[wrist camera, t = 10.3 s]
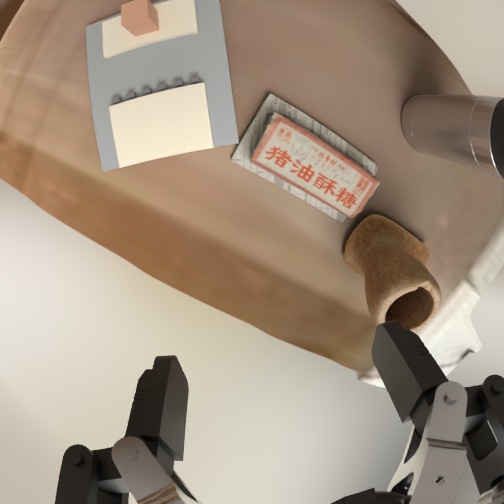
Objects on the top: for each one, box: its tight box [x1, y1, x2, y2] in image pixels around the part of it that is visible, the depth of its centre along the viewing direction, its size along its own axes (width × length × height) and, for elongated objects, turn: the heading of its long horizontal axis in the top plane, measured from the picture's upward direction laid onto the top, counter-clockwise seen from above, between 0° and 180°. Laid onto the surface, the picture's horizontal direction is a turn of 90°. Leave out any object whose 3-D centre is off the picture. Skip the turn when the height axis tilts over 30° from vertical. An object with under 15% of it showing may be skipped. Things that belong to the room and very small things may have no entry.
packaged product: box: [231, 94, 380, 224], centre depth 32 cm, size 18×5×10 cm
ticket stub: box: [102, 0, 198, 59], centre depth 20 cm, size 12×6×6 cm, turn 97°
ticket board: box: [86, 0, 239, 172], centre depth 26 cm, size 18×22×2 cm
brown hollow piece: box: [343, 214, 441, 332], centre depth 35 cm, size 15×12×15 cm
